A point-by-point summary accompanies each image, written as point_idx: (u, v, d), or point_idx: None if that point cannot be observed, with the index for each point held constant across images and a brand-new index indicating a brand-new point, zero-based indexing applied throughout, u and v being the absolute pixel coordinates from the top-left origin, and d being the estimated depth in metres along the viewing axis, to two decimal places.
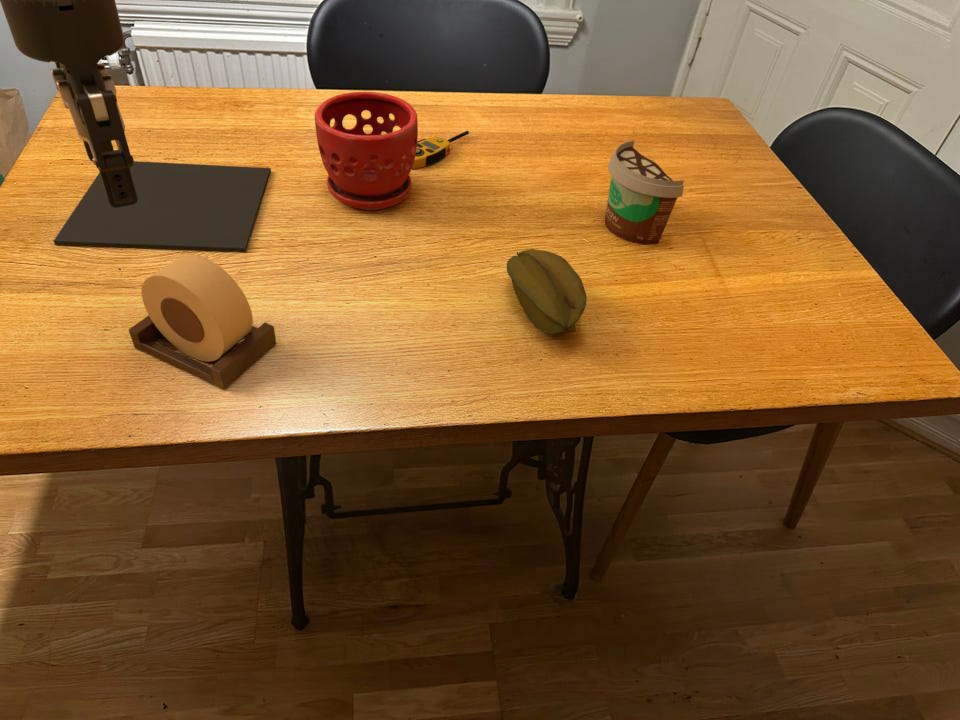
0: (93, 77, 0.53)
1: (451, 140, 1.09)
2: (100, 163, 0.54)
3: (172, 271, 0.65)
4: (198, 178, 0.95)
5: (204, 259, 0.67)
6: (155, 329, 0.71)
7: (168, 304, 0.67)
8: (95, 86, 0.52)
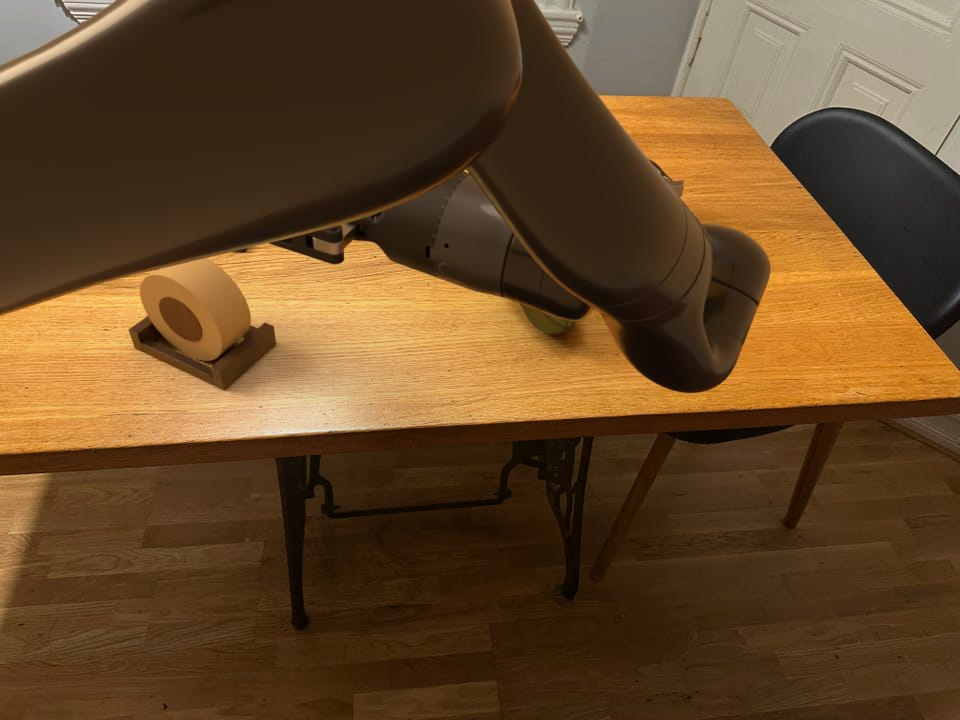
0: (364, 235, 0.48)
1: None
2: None
3: (168, 270, 0.65)
4: None
5: None
6: (155, 329, 0.71)
7: (166, 303, 0.67)
8: (353, 238, 0.47)
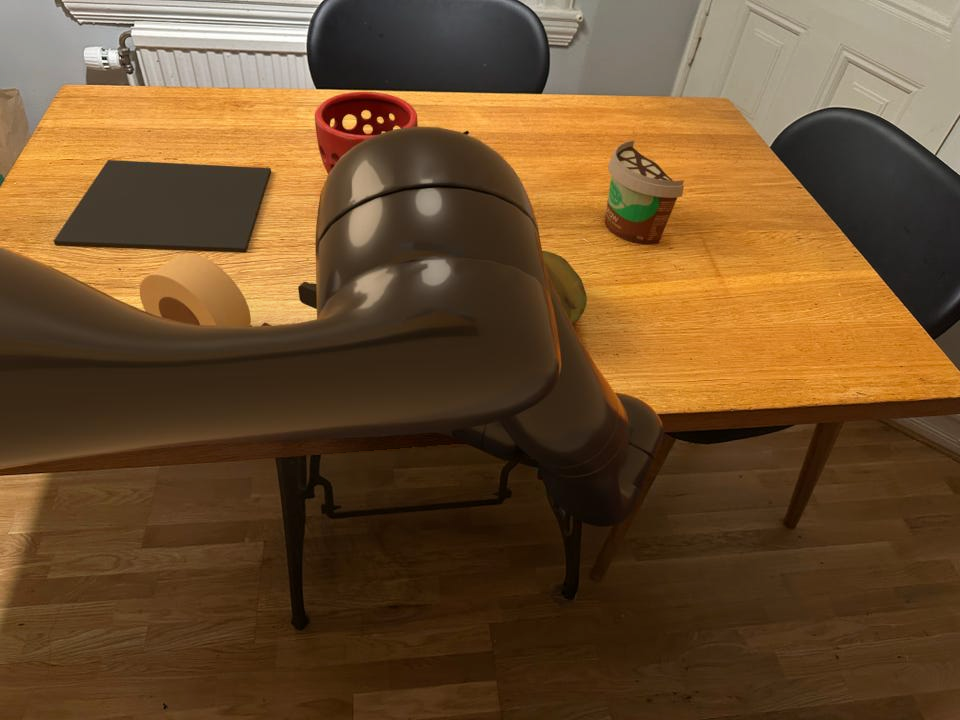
0: None
1: None
2: None
3: (168, 270, 0.65)
4: (198, 178, 0.95)
5: (200, 257, 0.67)
6: None
7: (166, 303, 0.67)
8: None
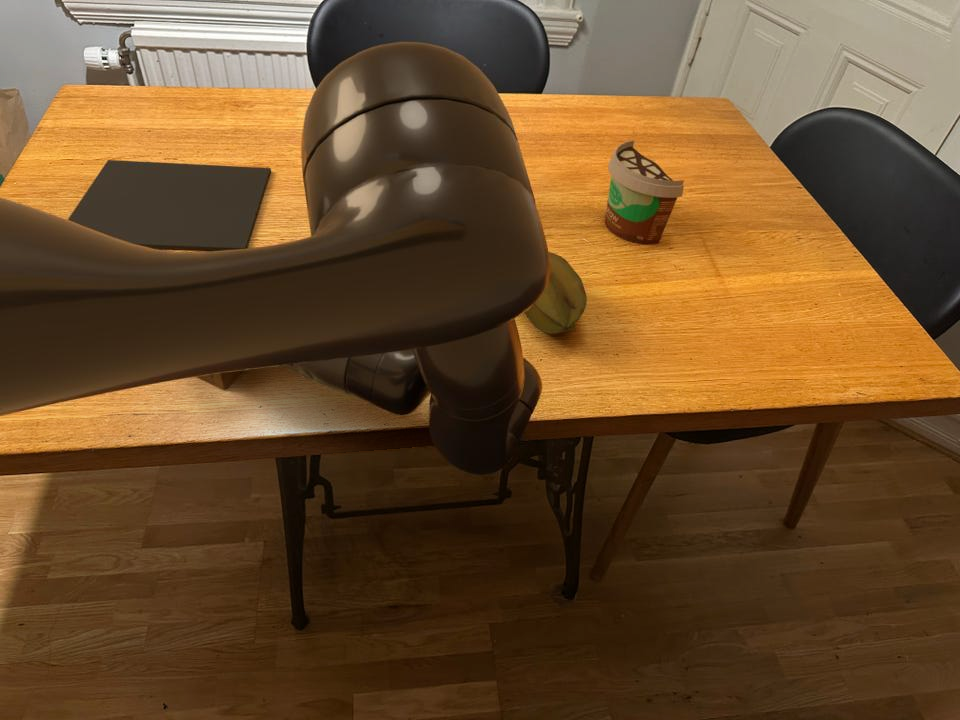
0: None
1: None
2: None
3: None
4: (198, 178, 0.95)
5: None
6: None
7: None
8: None
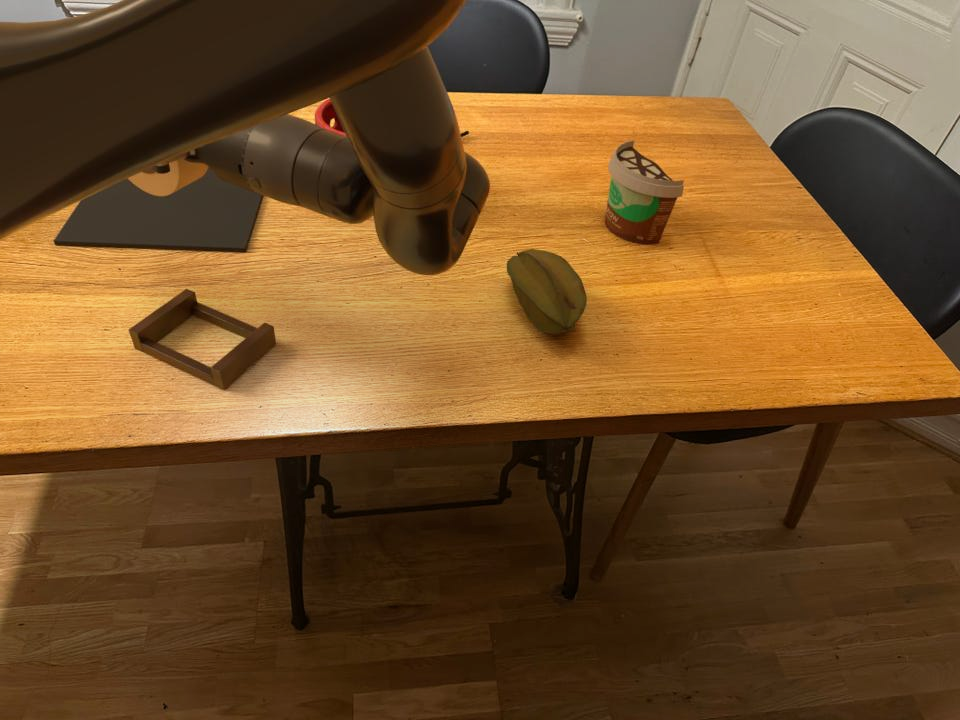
0: (196, 158, 0.62)
1: None
2: None
3: None
4: None
5: None
6: (155, 329, 0.71)
7: None
8: (181, 158, 0.61)
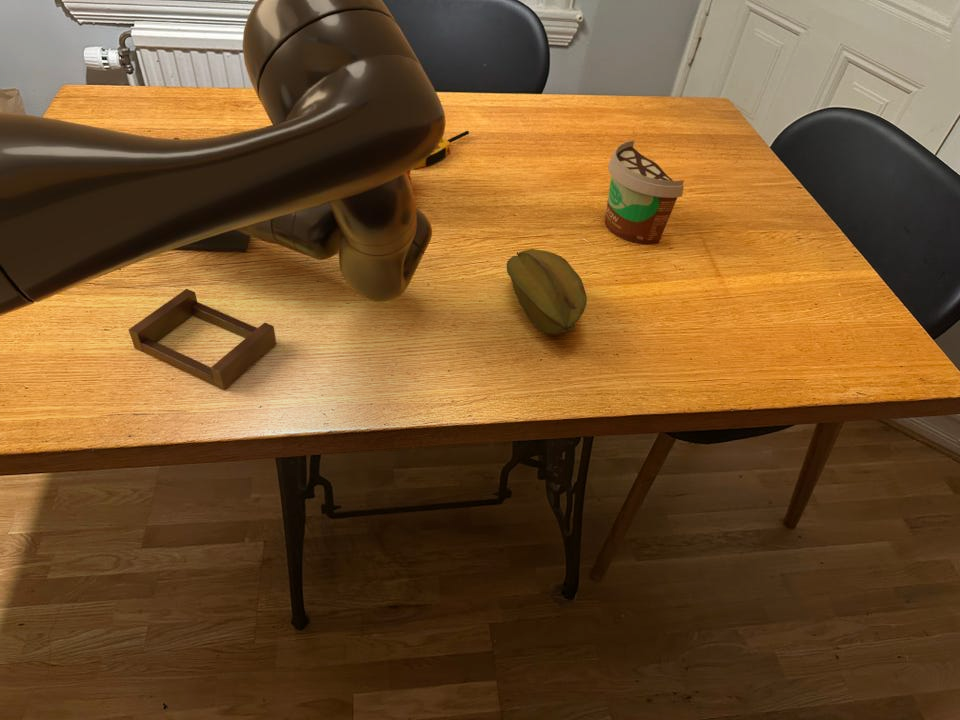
0: None
1: (451, 140, 1.09)
2: None
3: None
4: None
5: None
6: (155, 329, 0.71)
7: None
8: None
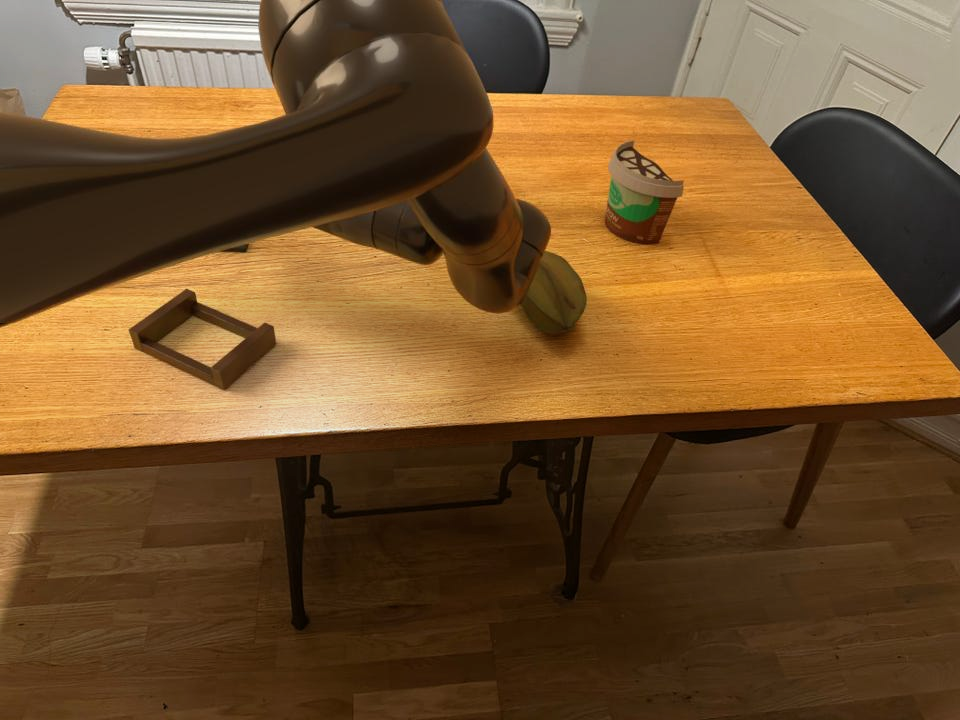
0: None
1: None
2: None
3: None
4: None
5: None
6: (155, 329, 0.71)
7: None
8: None
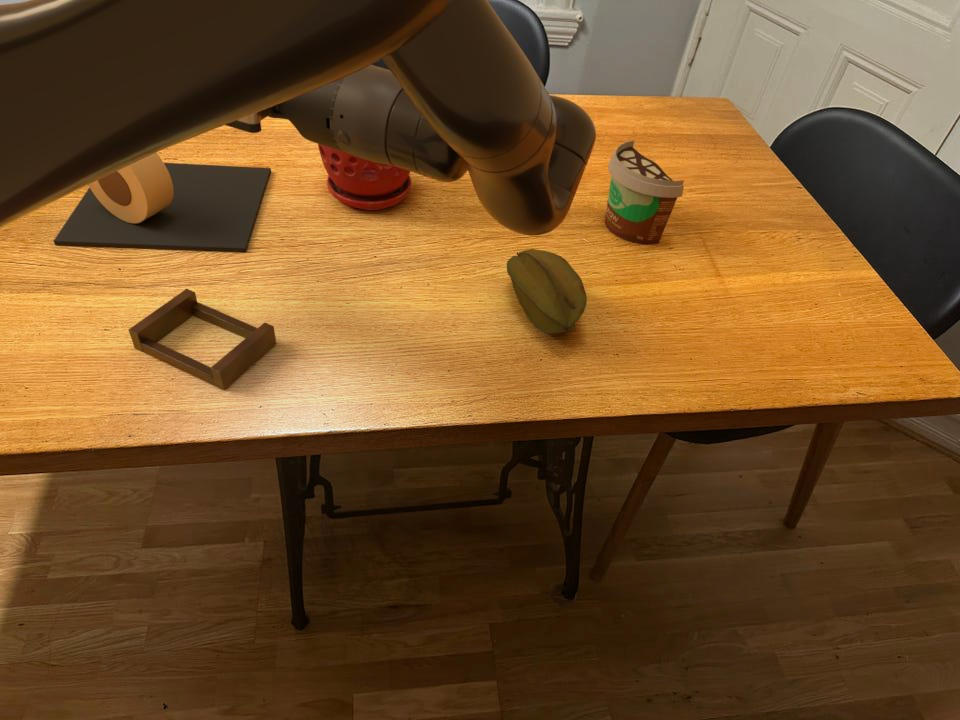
0: (279, 113, 0.58)
1: None
2: None
3: None
4: (198, 178, 0.95)
5: None
6: (155, 329, 0.71)
7: (101, 182, 0.83)
8: (269, 114, 0.58)
